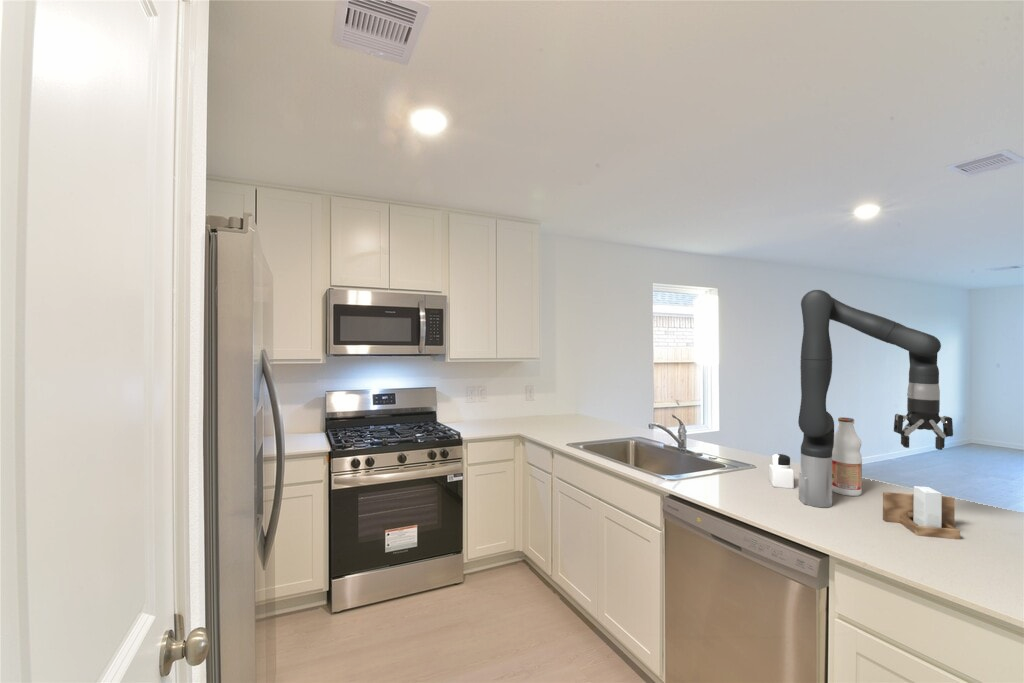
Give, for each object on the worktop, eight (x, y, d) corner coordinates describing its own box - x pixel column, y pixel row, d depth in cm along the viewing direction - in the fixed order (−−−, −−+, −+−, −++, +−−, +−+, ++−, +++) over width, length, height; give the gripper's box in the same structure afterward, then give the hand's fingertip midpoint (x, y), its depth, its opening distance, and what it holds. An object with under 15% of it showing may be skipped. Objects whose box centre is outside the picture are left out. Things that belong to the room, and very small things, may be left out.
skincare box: (942, 533, 133) (942, 493, 133) (925, 532, 134) (925, 492, 134) (928, 524, 139) (929, 486, 139) (912, 523, 140) (912, 485, 140)
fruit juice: (847, 497, 163) (847, 421, 163) (824, 489, 173) (824, 416, 172) (868, 495, 165) (868, 420, 165) (844, 486, 175) (844, 415, 174)
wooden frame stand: (901, 534, 134) (902, 504, 134) (882, 519, 144) (882, 491, 144) (976, 540, 129) (976, 509, 129) (951, 525, 139) (951, 496, 139)
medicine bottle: (789, 483, 180) (789, 453, 180) (793, 489, 173) (793, 458, 173) (769, 481, 182) (769, 452, 182) (773, 487, 175) (773, 456, 175)
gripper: (902, 398, 139) (901, 449, 140) (959, 399, 135) (958, 453, 136) (890, 394, 147) (889, 443, 147) (943, 396, 143) (942, 447, 143)
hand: (922, 448), depth 141 cm, fingers open, 8 cm apart
